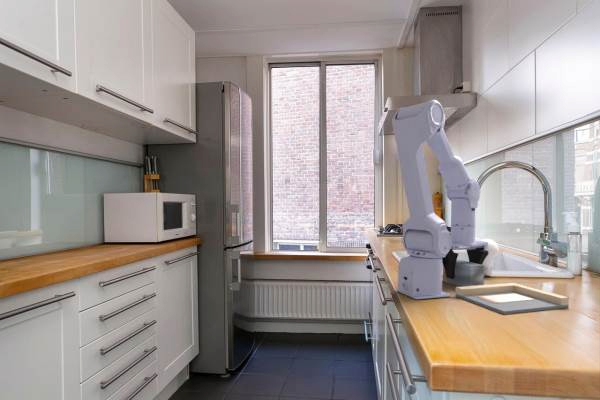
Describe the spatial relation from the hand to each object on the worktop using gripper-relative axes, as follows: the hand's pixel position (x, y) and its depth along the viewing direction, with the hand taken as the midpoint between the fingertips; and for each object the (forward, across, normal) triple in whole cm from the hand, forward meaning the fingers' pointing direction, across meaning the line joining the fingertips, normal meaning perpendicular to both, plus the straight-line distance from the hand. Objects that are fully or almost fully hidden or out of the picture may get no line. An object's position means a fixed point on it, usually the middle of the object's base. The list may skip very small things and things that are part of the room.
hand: (462, 277), depth 90 cm
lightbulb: (+2, +15, +7) cm, 17 cm away
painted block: (+2, 0, 0) cm, 2 cm away
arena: (+2, -1, -15) cm, 15 cm away
